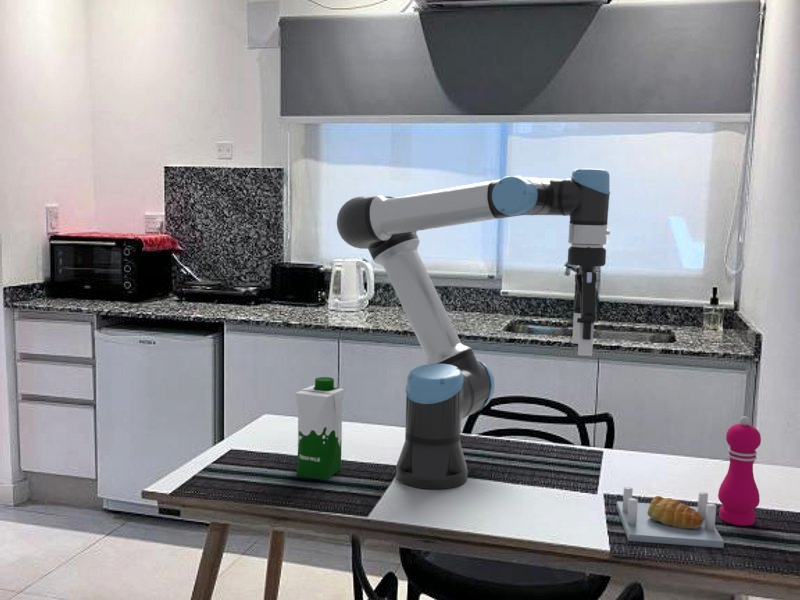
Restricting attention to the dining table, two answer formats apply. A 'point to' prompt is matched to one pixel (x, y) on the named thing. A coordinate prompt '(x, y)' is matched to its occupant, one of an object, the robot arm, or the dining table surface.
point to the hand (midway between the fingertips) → (581, 349)
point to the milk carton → (319, 429)
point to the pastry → (674, 513)
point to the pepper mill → (740, 475)
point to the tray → (657, 532)
